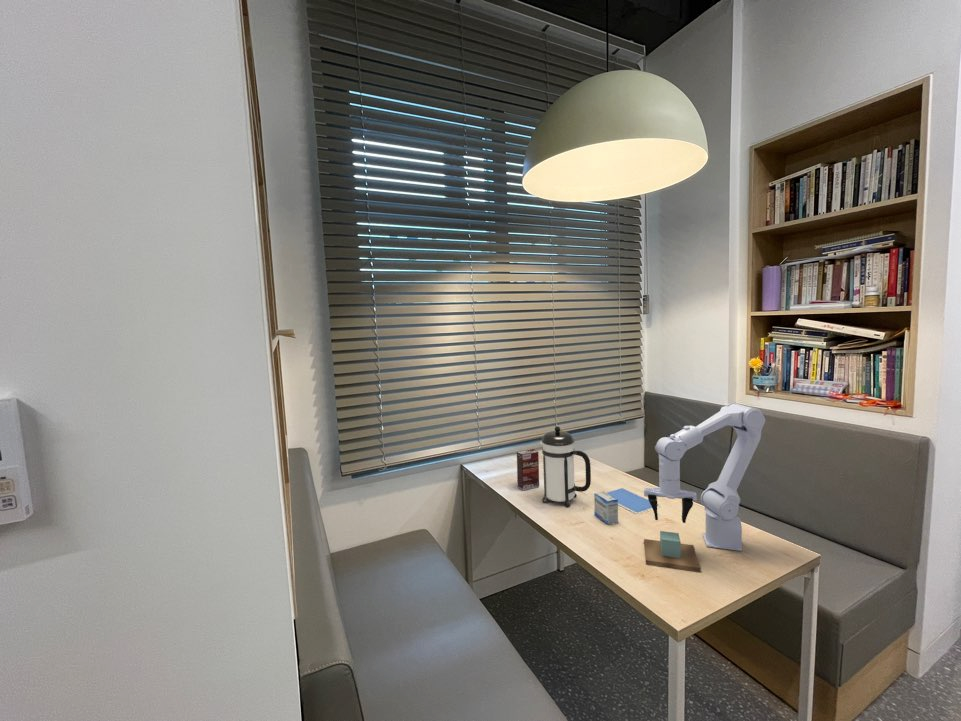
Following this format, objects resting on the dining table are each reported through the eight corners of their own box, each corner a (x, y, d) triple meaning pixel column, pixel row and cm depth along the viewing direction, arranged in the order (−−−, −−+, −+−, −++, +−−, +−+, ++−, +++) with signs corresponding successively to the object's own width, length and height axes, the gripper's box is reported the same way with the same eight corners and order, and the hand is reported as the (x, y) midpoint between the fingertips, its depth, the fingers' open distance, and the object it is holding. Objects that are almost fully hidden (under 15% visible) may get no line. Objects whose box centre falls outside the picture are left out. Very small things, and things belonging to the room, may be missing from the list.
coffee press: (550, 511, 151) (547, 433, 148) (535, 494, 167) (533, 423, 164) (592, 505, 155) (590, 429, 152) (574, 489, 170) (572, 420, 168)
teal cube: (678, 549, 121) (678, 533, 120) (680, 558, 116) (680, 541, 116) (660, 546, 123) (660, 530, 122) (661, 555, 118) (661, 539, 117)
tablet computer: (661, 508, 151) (661, 504, 151) (637, 516, 146) (637, 513, 145) (622, 490, 168) (622, 487, 168) (599, 497, 163) (599, 494, 163)
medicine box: (594, 515, 147) (593, 492, 146) (604, 513, 148) (603, 490, 147) (608, 525, 139) (607, 501, 138) (618, 522, 141) (618, 498, 140)
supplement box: (522, 491, 170) (521, 455, 169) (517, 487, 175) (515, 452, 174) (540, 487, 174) (538, 451, 173) (534, 483, 178) (533, 448, 177)
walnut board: (693, 548, 123) (693, 545, 123) (700, 572, 111) (700, 567, 111) (643, 542, 127) (643, 538, 127) (645, 564, 116) (645, 560, 116)
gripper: (644, 480, 121) (645, 523, 122) (698, 484, 116) (698, 529, 117) (643, 472, 128) (643, 513, 129) (694, 475, 123) (694, 518, 124)
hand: (669, 520), depth 124 cm, fingers open, 7 cm apart
